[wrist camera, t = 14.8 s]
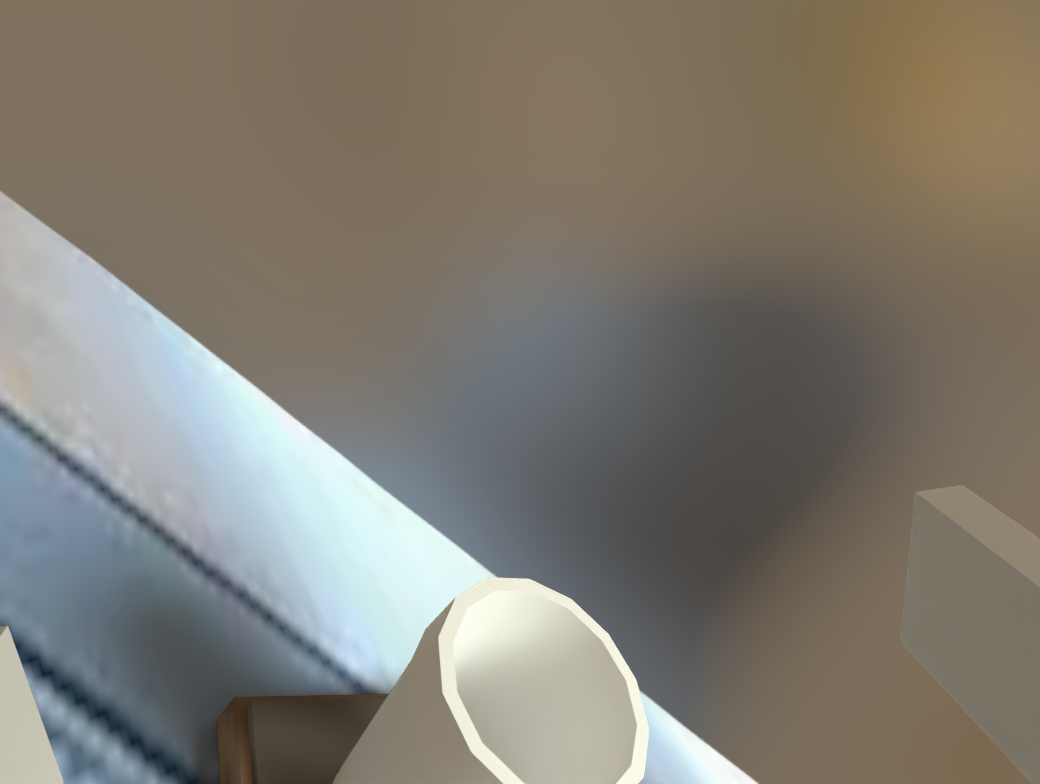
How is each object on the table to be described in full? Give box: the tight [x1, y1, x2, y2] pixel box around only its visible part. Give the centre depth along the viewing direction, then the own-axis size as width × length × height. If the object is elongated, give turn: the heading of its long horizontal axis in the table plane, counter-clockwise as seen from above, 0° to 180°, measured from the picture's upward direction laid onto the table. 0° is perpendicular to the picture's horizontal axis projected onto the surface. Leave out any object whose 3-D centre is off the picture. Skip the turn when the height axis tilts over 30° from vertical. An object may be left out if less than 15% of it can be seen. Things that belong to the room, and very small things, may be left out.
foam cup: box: [332, 578, 649, 784], centre depth 34 cm, size 10×9×13 cm
